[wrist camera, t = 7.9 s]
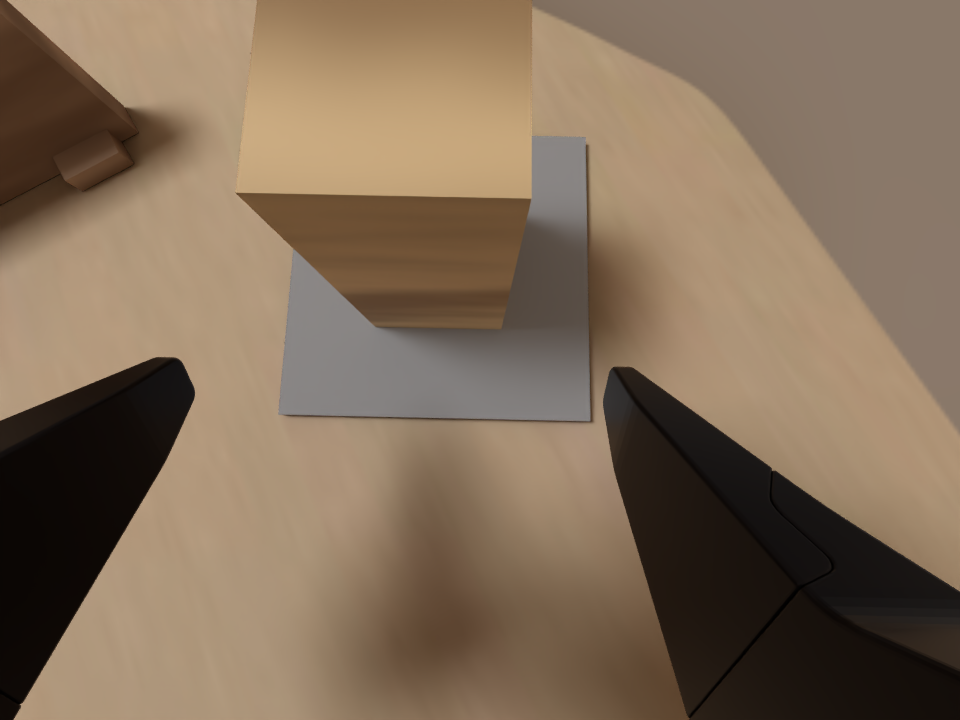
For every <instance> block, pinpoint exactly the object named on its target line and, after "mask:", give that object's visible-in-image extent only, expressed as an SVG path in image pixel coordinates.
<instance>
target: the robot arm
mask: <svg viewBox="0 0 960 720" xmlns="http://www.w3.org/2000/svg"><path fill="white" fill-rule="evenodd" d="M194 397H195V390H194V386H193V384H192V382H191V380H190V378H189V376H188V373H187V371H186V369H185V367H184V365H183V363H182V362H181V361H180V360H179V359H177V358H174V357H156V358H152V359H150V360H148V361H145V362H143V363H140V364H138V365H135V366H133V367H131V368H128V369H126V370H123V371H121V372H118V373H116V374H113V375H111V376H109V377H106V378H104V379H101V380H99V381H96V382H94V383H91V384H89V385H87V386H84V387H82V388H79V389H77V390H74V391H72V392H70V393H67V394H65V395H62V396H60V397H57V398H55V399H52V400H50V401H48V402H45V403H43V404H40V405H38V406H35V407H33V408H31V409H28V410H26V411H23V412H21V413H18V414H16V415H13V416H11V417H9V418H6V419H4V420H1V421H0V720H14V718H15V716H16V715H17V713H18V711H19V709H20V708H21V705H20V704H21V703H23V702H24V700H25V699H26V697H27V695H28V693H29V692H30V690H31V688H32V687H33V685H34V683H35V682H36V680H37V678H38V677H39V675H40V673H41V672H42V670H43V668H44V666H45V665H46V663H47V661H48V660H49V658H50V656H51V655H52V653H53V651H54V650H55V648H56V646H57V644H58V643H59V641H60V639H61V638H62V636H63V634H64V633H65V631H66V629H67V628H68V626H69V624H70V623H71V621H72V619H73V617H74V616H75V614H76V612H77V611H78V609H79V607H80V606H81V604H82V602H83V601H84V599H85V597H86V596H87V594H88V592H89V590H90V589H91V587H92V585H93V584H94V582H95V580H96V579H97V577H98V575H99V574H100V572H101V570H102V568H103V567H104V565H105V563H106V562H107V560H108V558H109V557H110V555H111V553H112V552H113V550H114V548H115V547H116V545H117V543H118V541H119V540H120V538H121V536H122V535H123V533H124V531H125V530H126V528H127V526H128V525H129V523H130V521H131V519H132V518H133V516H134V514H135V513H136V511H137V509H138V508H139V506H140V504H141V503H142V501H143V499H144V498H145V496H146V494H147V492H148V491H149V489H150V487H151V486H152V484H153V482H154V481H155V479H156V477H157V476H158V474H159V472H160V470H161V469H162V467H163V465H164V463H165V461H166V459H167V457H168V455H169V453H170V451H171V449H172V447H173V445H174V443H175V440H176V438H177V436H178V434H179V432H180V429H181V427H182V425H183V423H184V421H185V418H186V416H187V414H188V412H189V410H190V407H191V405H192V403H193V401H194ZM603 408H604V414H605V420H606V426H607V432H608V438H609V444H610V450H611V456H612V462H613V467H614V472H615V475H616V479H617V483H618V486H619V489H620V493H621V496H622V499H623V503H624V506H625V509H626V513H627V516H628V519H629V523H630V526H631V529H632V533H633V536H634V539H635V543H636V546H637V549H638V553H639V556H640V559H641V563H642V566H643V570H644V573H645V576H646V580H647V583H648V586H649V590H650V593H651V596H652V600H653V603H654V606H655V610H656V613H657V616H658V620H659V623H660V626H661V630H662V633H663V636H664V640H665V643H666V646H667V650H668V653H669V656H670V660H671V663H672V666H673V670H674V673H675V676H676V680H677V683H678V686H679V690H680V693H681V697H682V700H683V703H684V707H685V710H686V713H687V716H688V717H689V718H690V719H689V720H960V591H958V590H957V589H955V588H953V587H952V586H950V585H949V584H947V583H945V582H944V581H942V580H941V579H939V578H938V577H936V576H934V575H933V574H931V573H930V572H928V571H927V570H925V569H923V568H922V567H920V566H919V565H917V564H915V563H914V562H912V561H911V560H909V559H908V558H906V557H904V556H903V555H901V554H900V553H898V552H897V551H895V550H893V549H892V548H890V547H889V546H887V545H885V544H884V543H882V542H881V541H879V540H878V539H876V538H874V537H873V536H871V535H870V534H868V533H866V532H865V531H863V530H862V529H860V528H859V527H857V526H856V525H854V524H853V523H851V522H849V521H848V520H846V519H845V518H843V517H842V516H840V515H839V514H837V513H836V512H834V511H833V510H831V509H830V508H828V507H826V506H825V505H824V504H822V503H821V502H819V501H818V500H816V499H815V498H813V497H812V496H811V495H809V494H808V493H806V492H805V491H803V490H802V489H801V488H799V487H798V486H796V485H795V484H793V483H792V482H791V481H789V480H788V479H787V478H785V477H784V476H782V475H781V474H780V473H778V472H777V471H772V468H771V467H770V466H768V465H767V464H766V463H764V462H763V461H761V460H760V459H759V458H757V457H756V456H754V455H753V454H752V453H750V452H749V451H748V450H746V449H745V448H743V447H742V446H741V445H739V444H738V443H736V442H735V441H734V440H732V439H731V438H730V437H728V436H727V435H725V434H724V433H723V432H721V431H720V430H718V429H717V428H716V427H714V426H713V425H712V424H710V423H709V422H707V421H706V420H705V419H703V418H702V417H701V416H699V415H698V414H696V413H695V412H694V411H692V410H691V409H689V408H688V407H687V406H685V405H684V404H683V403H681V402H680V401H678V400H677V399H676V398H674V397H673V396H671V395H670V394H669V393H667V392H666V391H665V390H663V389H662V388H660V387H659V386H658V385H656V384H655V383H653V382H652V381H651V380H649V379H648V378H647V377H645V376H644V375H642V374H641V373H640V372H638V371H637V370H635V369H634V368H632V367H613V368H612V369H611V370H610V372H609V376H608V381H607V385H606V389H605V393H604V398H603Z"/></svg>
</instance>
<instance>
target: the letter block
mask: <svg viewBox="0 0 960 720" xmlns="http://www.w3.org/2000/svg"><path fill="white" fill-rule="evenodd" d="M235 193H236V194H237V195H238V196H239V197H240V198H241V199H242V200H244V201H245V202H246V203H247V204H248V205H249V206H250V207H251V208H252V209H253V210H254V211H255V212H256V213H257V214H258V215H259V216H260V217H261V218H262V219H263V220H264V221H265V222H266V223H267V224H268V225H270V226H271V227H272V228H273V229H274V230H275V231H276V232H277V233H278V234H279V235H280V236H281V237H282V238H283V239H284V240H285V241H286V242H287V243H288V244H289V245H290V246H291V247H292V248H293V249H295V250H296V251H297V252H298V253H299V254H300V255H301V256H302V257H303V258H304V259H305V260H306V261H307V262H308V263H309V264H310V265H311V266H312V267H313V268H314V269H315V270H316V271H317V272H318V273H319V274H321V275H322V276H323V277H324V278H325V279H326V280H327V281H328V282H329V283H330V284H331V285H332V286H333V287H334V288H335V289H336V290H337V291H338V292H339V293H340V294H341V295H342V296H343V297H344V298H346V299H347V300H348V301H349V302H350V303H351V304H352V305H353V306H354V307H355V308H356V309H357V310H358V311H359V312H360V313H361V314H362V315H363V316H364V317H365V318H366V319H367V320H368V321H369V322H370V323H372V324H373V325H374V326H375V327H400V328H450V329H500V330H501V328H502V324H503V319H504V315H505V311H506V307H507V302H508V298H509V294H510V289H511V285H512V281H513V276H514V272H515V268H516V264H517V259H518V255H519V251H520V246H521V242H522V238H523V233H524V229H525V225H526V221H527V216H528V212H529V208H530V203H531V199H532V0H257V6H256V15H255V23H254V32H253V41H252V50H251V59H250V68H249V76H248V85H247V94H246V103H245V112H244V121H243V129H242V138H241V147H240V156H239V165H238V174H237V182H236V191H235Z"/></svg>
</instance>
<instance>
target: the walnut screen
mask: <svg viewBox="0 0 960 720" xmlns="http://www.w3.org/2000/svg"><path fill="white" fill-rule="evenodd" d="M137 133H138V131H137V129H136V127H135V125H134V123H133V122H132V120H131V118H130V116H129V114H128V113H127V111H126V109H125V107H124V106H123V105H122V104H121V103H120V102H119V101H118V100H116V99H115V98H114V97H113V96H112V95H111V94H110V93H109V92H108V91H106V90H105V89H104V88H103V87H102V86H101V85H100V84H99V83H98V82H96V81H95V80H94V79H93V78H92V77H91V76H90V75H89V74H88V73H87V72H85V71H84V70H83V69H82V68H81V67H80V66H79V65H78V64H77V63H75V62H74V61H73V60H72V59H71V58H70V57H69V56H68V55H67V54H65V53H64V52H63V51H62V50H61V49H60V48H59V47H58V46H57V45H55V44H54V43H53V42H52V41H51V40H50V39H49V38H48V37H47V36H46V35H44V34H43V33H42V32H41V31H40V30H39V29H38V28H37V27H36V26H34V25H33V24H32V23H31V22H30V21H29V20H28V19H27V18H26V17H24V16H23V15H22V14H21V13H20V12H19V11H18V10H17V9H16V8H14V7H13V6H12V5H11V4H10V3H9V2H8V1H7V0H0V205H1V204H3V203H5V202H7V201H9V200H11V199H13V198H15V197H16V196H18V195H20V194H22V193H24V192H26V191H28V190H30V189H32V188H34V187H36V186H38V185H39V184H41V183H43V182H45V181H47V180H49V179H51V178H53V177H55V176H57V175H59V174H61V175H62V177H63V178H64V180H65V181H66V182H68V183H69V184H71V185H73V186H74V187H76V188H78V189H79V190H81V191H84V190H86V189H88V188H90V187H92V186H94V185H95V184H97V183H99V182H101V181H103V180H105V179H107V178H109V177H111V176H112V175H114V174H116V173H118V172H120V171H122V170H124V169H126V168H128V167H130V166H131V165H133V164H134V163H133V161H132V159H131V158H130V156H129V154H128V152H127V150H126V148H125V147H124V145H123V143H122V141H124V140H126V139H128V138H130V137H132V136H133V135H135V134H137Z"/></svg>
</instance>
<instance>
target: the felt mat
mask: <svg viewBox="0 0 960 720" xmlns="http://www.w3.org/2000/svg"><path fill="white" fill-rule="evenodd" d="M278 414H279V415H317V416H364V417H410V418H457V419H503V420H550V421H590V371H589V313H588V254H587V196H586V137H558V136H532V199H531V203H530V208H529V212H528V216H527V221H526V225H525V229H524V233H523V238H522V242H521V246H520V251H519V255H518V259H517V264H516V268H515V272H514V276H513V281H512V285H511V289H510V294H509V298H508V302H507V307H506V311H505V315H504V319H503V324H502V328H501V330H500V329H450V328H400V327H375V326H374V325H373V324H372V323H370V322H369V321H368V320H367V319H366V318H365V317H364V316H363V315H362V314H361V313H360V312H359V311H358V310H357V309H356V308H355V307H354V306H353V305H352V304H351V303H350V302H349V301H348V300H347V299H346V298H344V297H343V296H342V295H341V294H340V293H339V292H338V291H337V290H336V289H335V288H334V287H333V286H332V285H331V284H330V283H329V282H328V281H327V280H326V279H325V278H324V277H323V276H322V275H321V274H319V273H318V272H317V271H316V270H315V269H314V268H313V267H312V266H311V265H310V264H309V263H308V262H307V261H306V260H305V259H304V258H303V257H302V256H301V255H300V254H299V253H298V252H297V251H296V250H295V249H293V259H292V270H291V281H290V292H289V303H288V314H287V325H286V336H285V347H284V358H283V369H282V380H281V391H280V402H279V413H278Z"/></svg>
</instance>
